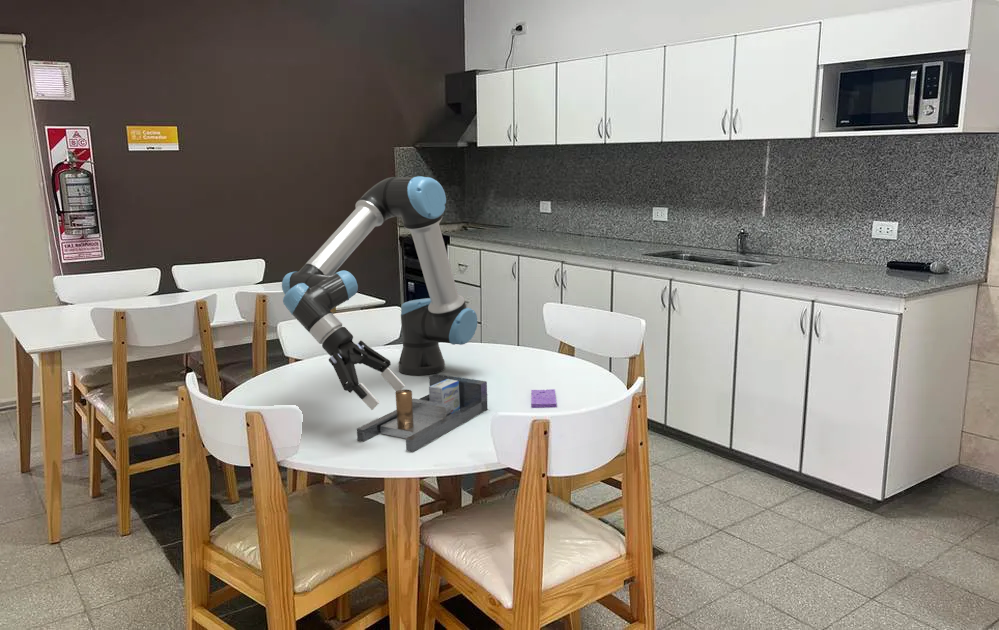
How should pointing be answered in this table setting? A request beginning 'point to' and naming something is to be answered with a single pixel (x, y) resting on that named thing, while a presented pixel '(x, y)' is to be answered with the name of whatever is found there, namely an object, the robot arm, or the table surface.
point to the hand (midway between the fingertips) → (389, 397)
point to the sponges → (543, 398)
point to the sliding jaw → (414, 415)
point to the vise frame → (470, 406)
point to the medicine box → (446, 393)
